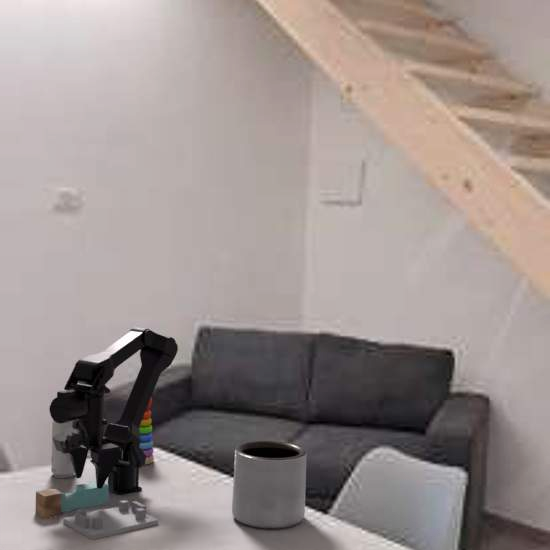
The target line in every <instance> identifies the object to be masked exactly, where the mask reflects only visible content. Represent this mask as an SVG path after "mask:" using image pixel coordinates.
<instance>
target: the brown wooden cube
mask: <svg viewBox="0 0 550 550" xmlns="http://www.w3.org/2000/svg"><path fill="white" fill-rule="evenodd" d="M55 489H56V488H48V489H42V490H37V491H35V513H34V514H35V515H36V514H37V515H36V516H38V515H39V516H38V517H40V516H41V517H40V518H42V519H43V518H44V519H43V520H47V519H51V518H50V517H52V518H55V517H54V516H57V517H60V516H59V515H61V516H62V512H61V498H62V493H60V492H58V491H56V490H55ZM46 518H47V519H46Z"/></svg>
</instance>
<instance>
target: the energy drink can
mask: <svg viewBox="0 0 550 550" xmlns="http://www.w3.org/2000/svg"><path fill="white" fill-rule="evenodd" d="M52 420H53V419H52ZM73 421H74V420H73ZM73 421H69V422H66V423H61V424H60V423H57V422H55V421H54V420H53V421H52V428H51V429H52V430H51V431H52V432H51V433H52V434H51V465H50V466H51V467H50V469H51V470H50V471H51V474H53V475H52V476H54V478H59V479H67V477H68V478H72V477H74V476H75V472H74V469H73V465H72V462H71V459H70V456H69V454H68V453H66V454H63V453H62V452H60V451H57V450H56V448H55V445H54V442H53V439H52V437H53V436H54V435H56V434H58V433H60V432H62V431H64V430H65V429H68V428H71V427H72V425H73Z"/></svg>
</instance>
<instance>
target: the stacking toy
mask: <svg viewBox="0 0 550 550" xmlns="http://www.w3.org/2000/svg"><path fill="white" fill-rule="evenodd" d="M152 403H153V399H152V396H151V399H150V401H149V404H148V406H147V409H146V411H145V414H144V416H143V419H142V421H141V424H140V427H139V431H140V437H141V442H140V446H139V447H140V449H141V450H142V451H143V452H144V454H145V455H146V460H145V464H144V465H143V466H145V465H149V464H152V463H153V462H154V460H155V457H154V448H153V446H154V441H153V433H152V431H153V426H152V418H151V416H152V411H151V410H150V409H149V408H151V406H152Z"/></svg>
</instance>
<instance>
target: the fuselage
mask: <svg viewBox="0 0 550 550" xmlns="http://www.w3.org/2000/svg"><path fill="white" fill-rule="evenodd" d="M108 488H109V485H108V483H106V482H105V483H104V485H103V487H102V488H100V489H98V488H97V483H96V481H92V482H87V483H82V484H77V485H76V486H75V491H72V492H68V493H65V492H63V491H62V490H59V489H58V488H54V489H55V490H56V491H58V492H60V493H62V498H61V513H64V512H68V511H67V510H69V511H73V509H74V510H79V509H84V508H87V506H88V507H92V505H93V506H98V505H101V504H100V503H103V504H106V503H105V502H108V503H109V489H108ZM97 504H98V505H97ZM78 508H79V509H78ZM63 511H64V512H63Z"/></svg>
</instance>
